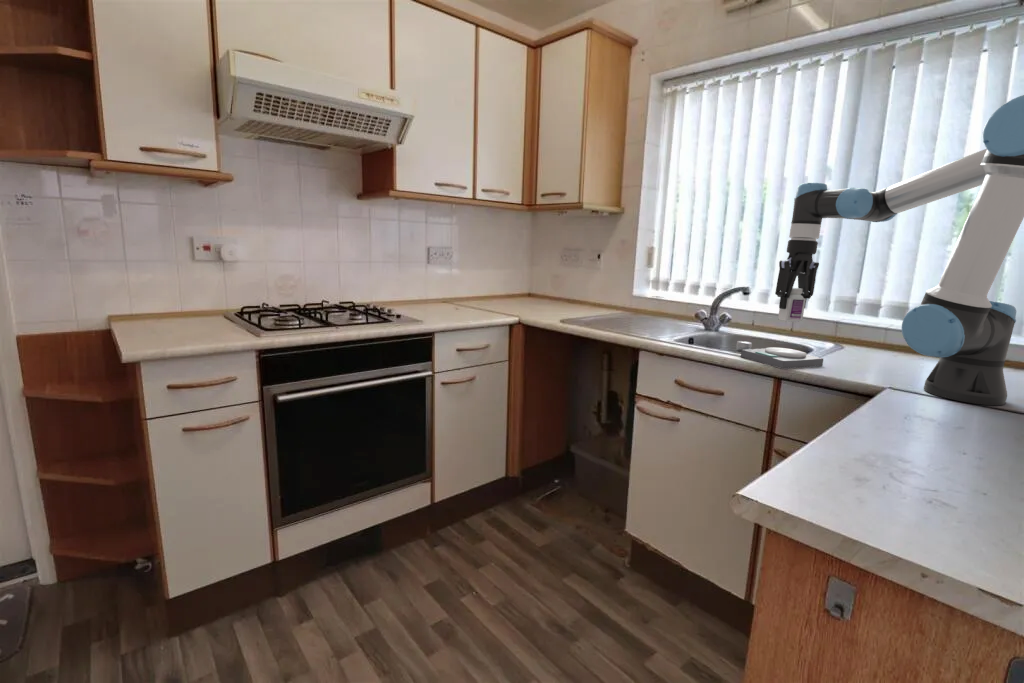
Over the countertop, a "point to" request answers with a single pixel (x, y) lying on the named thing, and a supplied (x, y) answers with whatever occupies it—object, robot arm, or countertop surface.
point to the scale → (782, 357)
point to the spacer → (743, 345)
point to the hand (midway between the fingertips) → (790, 319)
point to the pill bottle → (795, 305)
